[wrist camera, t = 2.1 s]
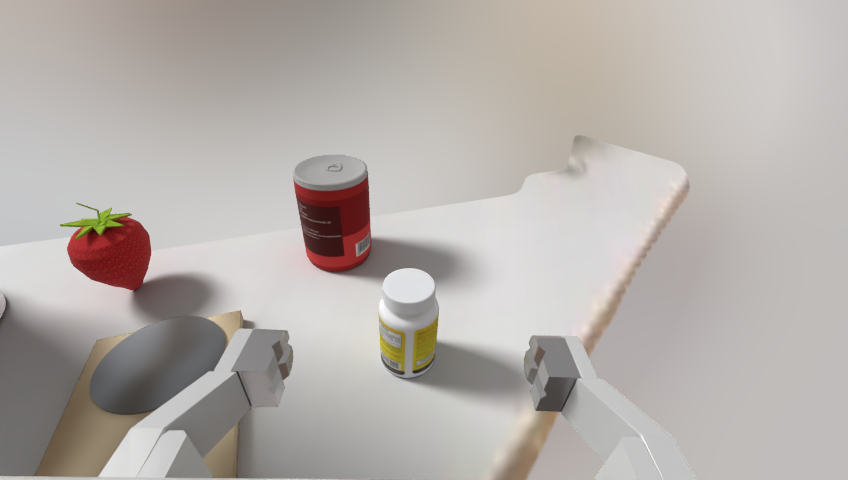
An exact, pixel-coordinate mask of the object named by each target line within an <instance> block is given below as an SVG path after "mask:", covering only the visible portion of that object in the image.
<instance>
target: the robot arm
mask: <svg viewBox="0 0 848 480" xmlns="http://www.w3.org/2000/svg"><path fill="white" fill-rule="evenodd" d="M5 306H6V300H5V298H4V296H3V294H2V293H0V318H1V316H2V315H3V312H4V310H5ZM288 340H289V334H288V331H285V330H266V329H238V330H237V331H236V332H235V334H234V335H233V337H232V339H231V341H230V343H229V344H228V346H227V348H226V350H225V352H224V354H223V355H222V357H221V359H220V361H219V363H218V364H217V366H216V368H215V370H214V371H209V372H207V373H206V374H205V375H203V376H202V377H200V378H199V379H198V380H196V381H195V382H194V383H192V384H191V385H190V386H188V387H187V388H185V389H184V390H183V391H181V392H180V393H179V394H177V395H176V396H174V397H173V398H172V399H170V400H169V401H168V402H166V403H165V404H163V405H162V406H161V407H159V408H158V409H157V410H155V411H154V412H152V413H151V414H150V415H148V416H147V417H146V418H144V419H143V420H141V421H140V422H139V423H137V424H136V425H135V426H133V427H132V428H131V429H130V430H129V432H128V433H127V435H126V436H125V438H124V439H123V441H122V442H121V444H120V445H119V447H118V448H117V450H116V451H115V452H114V454H113V455H112V457H111V458H110V460H109V461H108V463H107V464H106V466H105V467H104V469H103V470H102V472H101V473H100V475H99V476H98V477H48V476H0V480H367V479H251V478H212V474H211V471H210V470H209V468H208V466H207V465H206V463H205V462H204V460H203V458H204V457H205V456H206V455H207V454H208V453H209V452H210V451H211V450H212V449H213V447H214V446H215V445H216V444H217V443H218V442H219V441H220V440H221V439H222V438H223V437H224V436H225V435H226V434H227V433H228V432H229V431H230V430H231V429H232V428H233V427H234V426H235V425H236V424H237V423H238V422H239V421H240V420H241V419H242V417H243V416H244V415H245V414H246V413H247V412H248V411H249V410H250V409H251V407H278V406H279V403H280V400H281V397H282V394H283V391H284V389H285V386H284V383H283V380H284V379H285V378H286V377H288V376H289V374H290V371H291V368H292V362H293V350H292V346H290V345H289V344H288ZM529 345H530V349H529V350H528V351H526V354H525V357H524V369H525V375H526V378H527V380H528V381H529V382H530V383H531V384H532V388H531V391H530V393H531V396H532V400H533V403H534V407H535V410H536V411H554V412H561V414H562V415H563V416H564V417H565V418H566V419H567V421H568V422H569V423H570V424H571V425H572V426H573V428H574V429H575V430H576V431H577V432H578V433H579V435H580V436H581V437H582V438H583V439H584V441H586V443H587V444H588V445H589V446H590V447H591V449H592V450H593V451H594V452H595V453H596V455H597V456H598V457H599V458H600V459H601V460H602V462H603V463H604V464H603V466H602V467H601V469H600V470H599V472H598V473H597V475H596V476H595V478H594V480H697V478H696V477H695V475H694V473H693V472H692V470H691V468H690V466H689V465H688V463H687V461H686V459H685V457H684V456H683V454H682V452H681V450H680V449H679V447H678V445H677V443H676V442H675V440H674V438H673V437H672V436H671V435H670V434H669V433H668V432H667V431H665V430H664V429H663V428H662V427H661V426H659V425H658V424H657V423H656V422H654V421H653V420H652V419H651V418H650V417H648V416H647V415H646V414H645V413H644V412H643V411H641V410H640V409H639V408H638V407H637V406H635V405H634V404H633V403H632V402H630V401H629V400H628V399H627V398H626V397H624V396H623V395H622V394H621V393H620V392H618V391H617V390H616V389H615V388H614V387H612V386H611V385H610V384H609V383H607V382H606V381H605V380H604V379H599V378H598V376H597V374H596V372H595V370H594V368H593V366H592V363H591V361H590V359H589V357H588V355H587V353H586V351H585V349H584V347H583V344H582V342H581V340H580V339H579V338H578V337H577V336H532V337H531V338H530V341H529Z"/></svg>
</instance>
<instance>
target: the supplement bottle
mask: <svg viewBox="0 0 848 480" xmlns="http://www.w3.org/2000/svg"><path fill="white" fill-rule="evenodd" d="M435 288H436V287H435V282H434V280H433V278H432V277H431V276H430V275H429V274H428V273H426V272H424V271H422V270H419V269H414V268H404V269H399V270H396V271H394V272H392V273H390V274H389V275H388V276H387V277H386V278H385V280H384V283H383V295H382V296H383V297H382V299H381V301H380V303H379V330H380V348H381V359H382V362H383V365H384V366H385V368H386V369H387V370H388V371H389V372H390V373H392V374H393V375H396V376H398V377H403V378H411V377H416V376H419V375H422V374H424V373H425V372H427V371H428V370H429V369H430V367H431V366H432V364H433V362H434V358H435V350H436V338H437V327H438V315H439V306H438V302H437V300H436V298H435Z"/></svg>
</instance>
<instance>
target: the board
mask: <svg viewBox="0 0 848 480" xmlns="http://www.w3.org/2000/svg"><path fill="white" fill-rule="evenodd" d="M243 321H244V319H243V316H242V313H241V310H240V311H235V312H230V313H226V314H221V315H216V316H211V317H206V318H202V317H195V316H185V317H176V318H171V319H167V320H163V321H160V322H157V323H154V324H152V325H149V326H147V327H145V328H142V329H140V330H139V331H137V332H134V333H129V334H124V335H120V336H115V337H110V338H105V339H100V340H97V341H96V343H95V345H94V347H93V350H92V352H91V354H90V356H89V358H88V360H87V363H86V365H85V367H84V369H83V371H82V374H81V376H80V378H79V380H78V382H77V385H76V387H75V389H74V391H73V393H72V395H71V398H70V400H69V402H68V404H67V406H66V409H65V411H64V413H63V415H62V417H61V419H60V422H59V424H58V426H57V428H56V430H55V433H54V435H53V437H52V439H51V441H50V444H49V446H48V448H47V450H46V452H45V454H44V457H43V459H42V461H41V463H40V465H39V468H38V470H37V472H36V474H35V476H48V477H98V476H99V475H100V473H101V472H102V470H103V469H104V467H105V466H106V464H107V463H108V461H109V460H110V458H111V457H112V455H113V454H114V452H115V451H116V450H117V448H118V447H119V445H120V444H121V442H122V441H123V439H124V438H125V436H126V435H127V433H128V432H129V430H130V429H131V428H132V427H133V426H135V425H136V424H137V423H139V422H140V421H141V420H143V419H144V418H146V417H147V416H148V415H150V414H151V413H152V412H154V411H155V410H157V409H158V408H159V407H161V406H162V405H163V404H165V403H166V402H168V401H169V400H170V399H172V398H173V397H174V396H176V395H177V394H179V393H180V392H181V391H183V390H184V389H185V388H187V387H188V386H190V385H191V384H192V383H194V382H195V381H196V380H198V379H199V378H200V377H202V376H203V375H205V374H206V373H207V372H209V371H214V370H215V368H216V366H217V364H218V363H219V361H220V359H221V357H222V355H223V354H224V352H225V350H226V348H227V346H228V344H229V343H230V341H231V339H232V337H233V335H234V334H235V332H236V331H237V330H238V329H243ZM238 432H239V422H238V423H237V424H236V425H235V426H234V427H233V428H232V429H231V430H230V431H229V432H228V433H227V434H226V435H225V436H224V437H223V438H222V439H221V440H220V441H219V442H218V443H217V444H216V445H215V446H214V447H213V449H212V450H211V451H210V452H209V453H208V454H207V455H206V456H205V457H204V458H203V460H204V462H205V463H206V465H207V466H208V468H209V470H210V471H211V474H212V478H236V477H237V455H238Z"/></svg>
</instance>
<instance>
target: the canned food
mask: <svg viewBox="0 0 848 480" xmlns="http://www.w3.org/2000/svg"><path fill="white" fill-rule="evenodd" d="M293 179H294V186H295V193H296V198H297V204H298V209H299V214H300V220H301V225H302V231H303V236H304V242H305V247H306V253H307V256H308V258H309V259H310V261H311V262H312V264H313V265H315V266H316V267H318V268H320V269H322V270H326V271H345V270H349V269H352V268H354V267H357V266H358V265H360V264H362V263H363V262H364V261H365V260H366V258H367V257H368V255H369V252H370V249H371V231H370V208H369V186H368V172H367V166H366V164H365V163H364V162H363V161H361V160H359V159H357V158H354V157H350V156H345V155H323V156H318V157H313V158H310V159H307V160H305V161H302V162H301V163H299V164H297V165H296V167H295V168H294V170H293Z"/></svg>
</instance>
